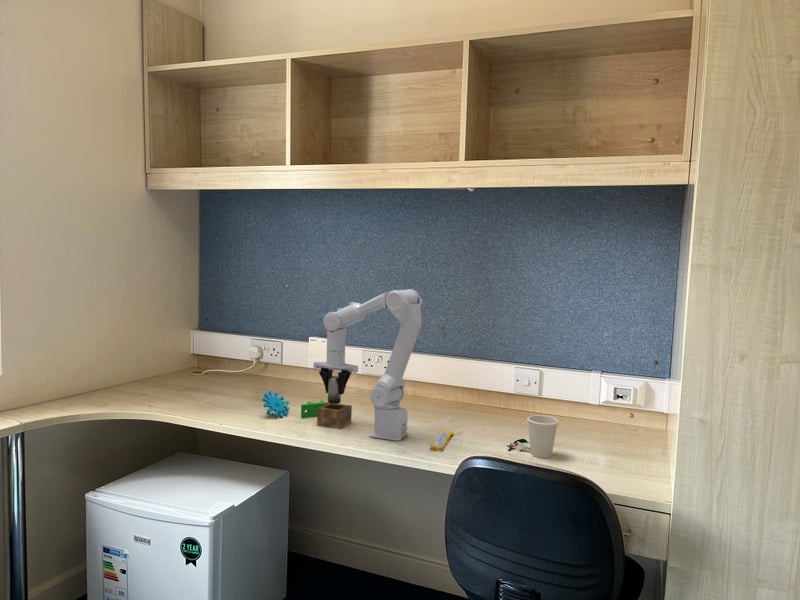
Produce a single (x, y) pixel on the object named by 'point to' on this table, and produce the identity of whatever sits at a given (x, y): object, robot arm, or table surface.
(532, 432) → the dixie cup
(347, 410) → the socket
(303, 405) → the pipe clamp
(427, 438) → the table surface
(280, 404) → the gear
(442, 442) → the candy bar
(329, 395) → the peg
